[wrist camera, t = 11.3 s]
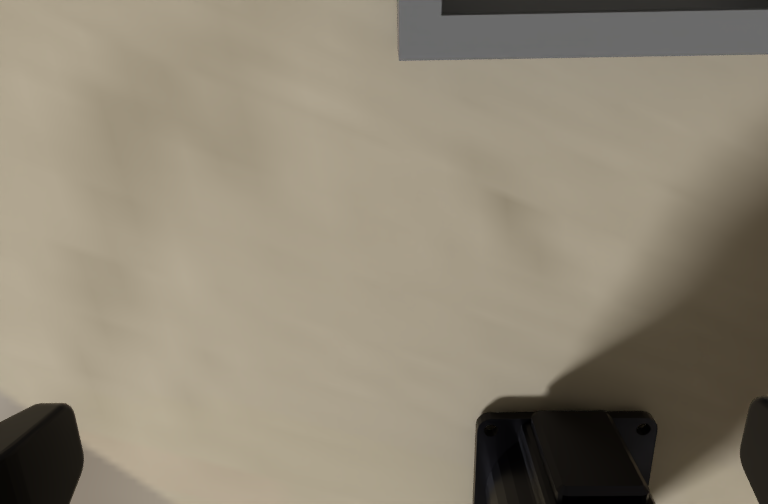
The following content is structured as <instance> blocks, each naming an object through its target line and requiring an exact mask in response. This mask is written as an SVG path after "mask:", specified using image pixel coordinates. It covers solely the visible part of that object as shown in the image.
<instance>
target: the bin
mask: <svg viewBox="0 0 768 504" xmlns="http://www.w3.org/2000/svg"><path fill="white" fill-rule="evenodd" d="M397 26H398V55H399V61H407V60H465V59H522V58H580V57H638V56H696V55H754V54H768V0H397Z"/></svg>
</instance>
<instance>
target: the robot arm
mask: <svg viewBox="0 0 768 504" xmlns="http://www.w3.org/2000/svg"><path fill="white" fill-rule="evenodd" d="M644 423H645V424H646V425H645V426H644V427H643V428H639V429H638V428H637V427H638V426H639V425H640V424H644ZM488 425H495V426H496V427H495V428H493V429H491V430H488V429H485V427H486V426H488ZM656 435H657V424H656V422H655V421H654V419H653V418H652V416H651V415H650V414H649V413H647V412H643V411H613V412H605V411H603V410H592V411H538V412H493V413H485V414H483V415H481V416H480V417H479V418H478V419H477V422H476V433H475V458H474V483H473V504H655V502H654V500H653V498H652V496H651V494H650V492H649V488H648V485H649V478H650V472H651V466H652V460H653V454H654V448H655V441H656ZM740 458H741V463H742V466H743V469H744V471H745V474H746V476H747V478H748V480H749V482H750V484H751V487H752V489H753V491H754V493H755V495H756V498H757V500H758V502H759V504H768V397H757V398H755V399H754V400H753V401H752V402H751V404H750V407H749V410H748V415H747V419H746V424H745V428H744V433H743V438H742V442H741V447H740ZM83 463H84V455H83V449H82V445H81V440H80V436H79V431H78V427H77V423H76V418H75V414H74V411H73V409H72V408H71V406H69V405H68V404H66V403H40V404H35V405H33V406H31V407H29V408H27V409H25V410H23V411H21V412H19V413H17V414H15V415H13V416H11V417H9V418H7V419H5V420H3V421H1V422H0V504H70V501H71V499H72V496H73V494H74V491H75V488H76V486H77V483H78V481H79V478H80V476H81V473H82V468H83Z"/></svg>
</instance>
